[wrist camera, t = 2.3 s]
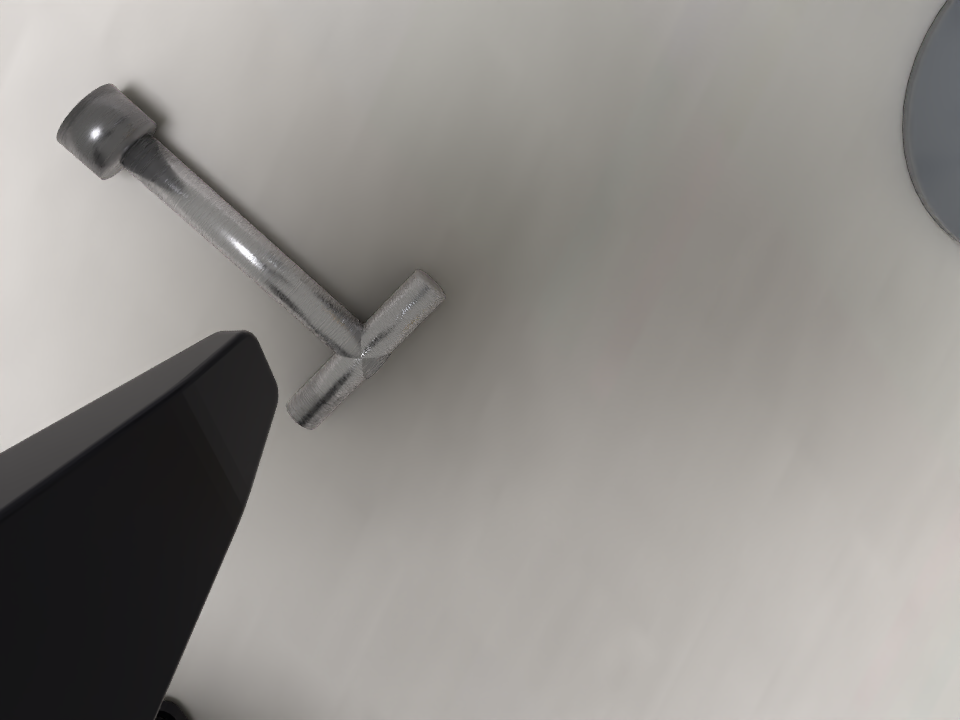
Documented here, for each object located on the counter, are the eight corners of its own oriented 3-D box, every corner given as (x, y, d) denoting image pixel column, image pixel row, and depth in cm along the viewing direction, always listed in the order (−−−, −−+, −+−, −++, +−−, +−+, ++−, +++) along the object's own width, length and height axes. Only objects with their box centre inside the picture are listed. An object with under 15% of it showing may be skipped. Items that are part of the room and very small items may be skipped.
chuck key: (447, 291, 21) (442, 312, 19) (320, 419, 23) (305, 449, 21) (166, 29, 19) (134, 28, 17) (45, 186, 21) (4, 198, 19)
